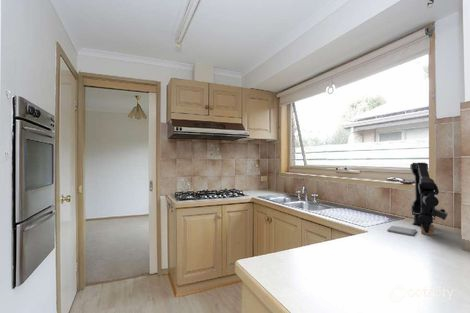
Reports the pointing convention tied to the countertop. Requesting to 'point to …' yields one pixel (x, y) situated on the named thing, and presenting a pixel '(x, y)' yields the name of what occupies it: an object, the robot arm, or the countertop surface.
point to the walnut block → (431, 230)
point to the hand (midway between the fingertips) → (427, 231)
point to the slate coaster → (402, 230)
